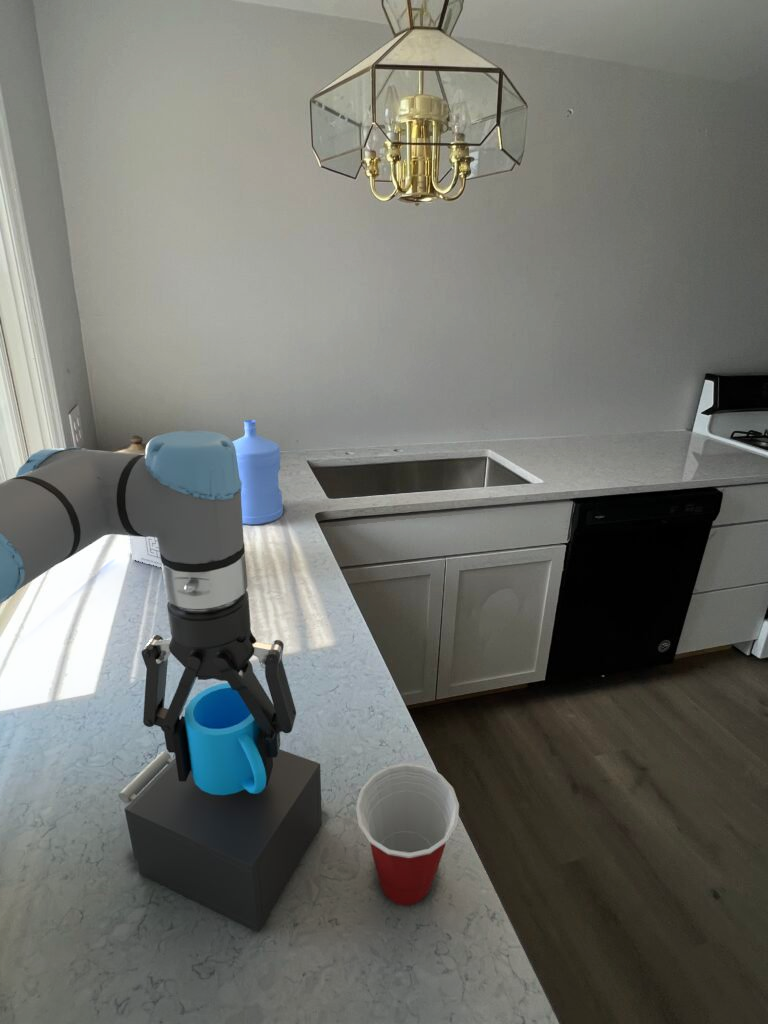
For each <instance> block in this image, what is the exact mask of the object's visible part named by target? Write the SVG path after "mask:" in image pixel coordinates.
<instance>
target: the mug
mask: <svg viewBox="0 0 768 1024" xmlns="http://www.w3.org/2000/svg"><path fill="white" fill-rule="evenodd" d="M184 718H185V725H186V733H187V740H188V748H189V755H190V763H191V770H192V776H193V779H194V782H195V784H196V785H197V786H198V787H199V788H200V789H201V790H202V791H205V792H207V793H210V794H214V795H228V794H233V793H237V792H239V791H242V790H244V789H245V790H247V791H248V792H249V793H253V794H258V793H260V792H261V791H262V790H263V789H264V788H265V786H266V772H265V768H264V765H263V762H262V759H261V756H260V754H259V752H258V745H257V737H258V734H259V731H260V727H259V725H258V724H257V722H256V721H255V719H254V717H253V716H252V714H251V713H250V711H249V710H248V708H247V706H246V705H245V703H244V702H243V700H242V698H241V697H240V695H239V694H238V692H237V691H236V690H233V689H232V688H231V687H230V685H229V683H228V682H226V683H219V684H216V685H213V686H209V687H207V688H205V689H204V690H201V691H200V692H198V693H197V694H196V695H195V696H193V698H191V699H190V700H189V702H188V704H187V705H186V707H185V709H184Z"/></svg>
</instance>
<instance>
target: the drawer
mask: <svg viewBox="0 0 768 1024" xmlns="http://www.w3.org/2000/svg"><path fill="white" fill-rule="evenodd" d="M175 761H176V758H175V757H172V756H171V754H170V753H169V752H168V751H167V750H162V751H161V752H160V753H159V754H158V755H157V756H156V757H154V759H153V760H152V761H150V763H148V765H146V767H144V768H143V769H142V771H140V772H139V773H138V774H137V775H136V776H135V777H134V778H133V779H132V780H131V781H130V782H129V783H128V784H126V786H125V787H124V788H123V789H122V790H121V791H120V792H118V799H119V800H120V802H122V803H124V804H127V806H126V807H125V808H124V813H125V819H126V823H127V828H128V835H129V839H130V843H131V848H132V854H133V857H134V860H135V861H137V857H136V852H135V847H134V842H133V837H132V832H131V827H130V822H129V817H128V812H127V810H128V809H129V808H130V807H131V806H132V805H133V804H134V803H135V802H136V801H137V800H138V799H139V798H140V797H141V796H142V795H143V794H144V793H145V792H146V791H147V790H148V789H149V788H150V787H151V786H152V785H153V784H154V783H155V782H156V781H157V780H158V779H159V778H160V777H161V776H162V775H163V774H164V773H165V772H166V771H167V769H168V768H169V767H170V766H171V765H172V764H173V763H174V762H175Z"/></svg>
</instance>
